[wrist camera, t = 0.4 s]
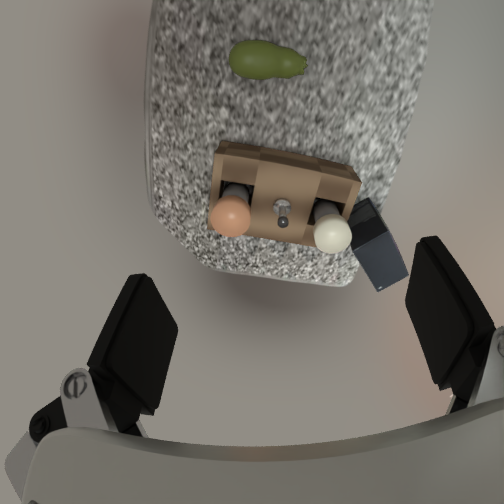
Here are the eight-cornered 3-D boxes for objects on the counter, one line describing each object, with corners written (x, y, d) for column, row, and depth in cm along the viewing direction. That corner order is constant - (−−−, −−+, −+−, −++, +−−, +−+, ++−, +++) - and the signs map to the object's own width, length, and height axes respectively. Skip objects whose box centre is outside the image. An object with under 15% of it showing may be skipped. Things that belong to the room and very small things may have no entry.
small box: (391, 238, 48) (411, 276, 40) (362, 254, 51) (376, 294, 43) (369, 195, 44) (390, 230, 35) (337, 214, 46) (350, 253, 38)
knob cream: (313, 191, 39) (321, 219, 33) (344, 198, 39) (357, 226, 33) (304, 219, 42) (310, 250, 36) (334, 225, 42) (344, 256, 36)
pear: (231, 36, 26) (314, 46, 27) (229, 39, 30) (302, 48, 31) (228, 78, 29) (308, 86, 31) (226, 76, 33) (297, 83, 35)
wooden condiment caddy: (221, 140, 40) (214, 153, 35) (351, 166, 41) (361, 182, 36) (213, 209, 47) (207, 229, 42) (329, 229, 48) (335, 250, 43)
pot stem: (275, 196, 38) (275, 213, 35) (292, 199, 38) (294, 217, 35) (271, 211, 40) (271, 229, 36) (288, 214, 40) (290, 232, 36)
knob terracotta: (221, 174, 38) (212, 200, 32) (256, 180, 39) (253, 206, 33) (218, 204, 41) (209, 233, 35) (250, 209, 42) (247, 239, 36)
